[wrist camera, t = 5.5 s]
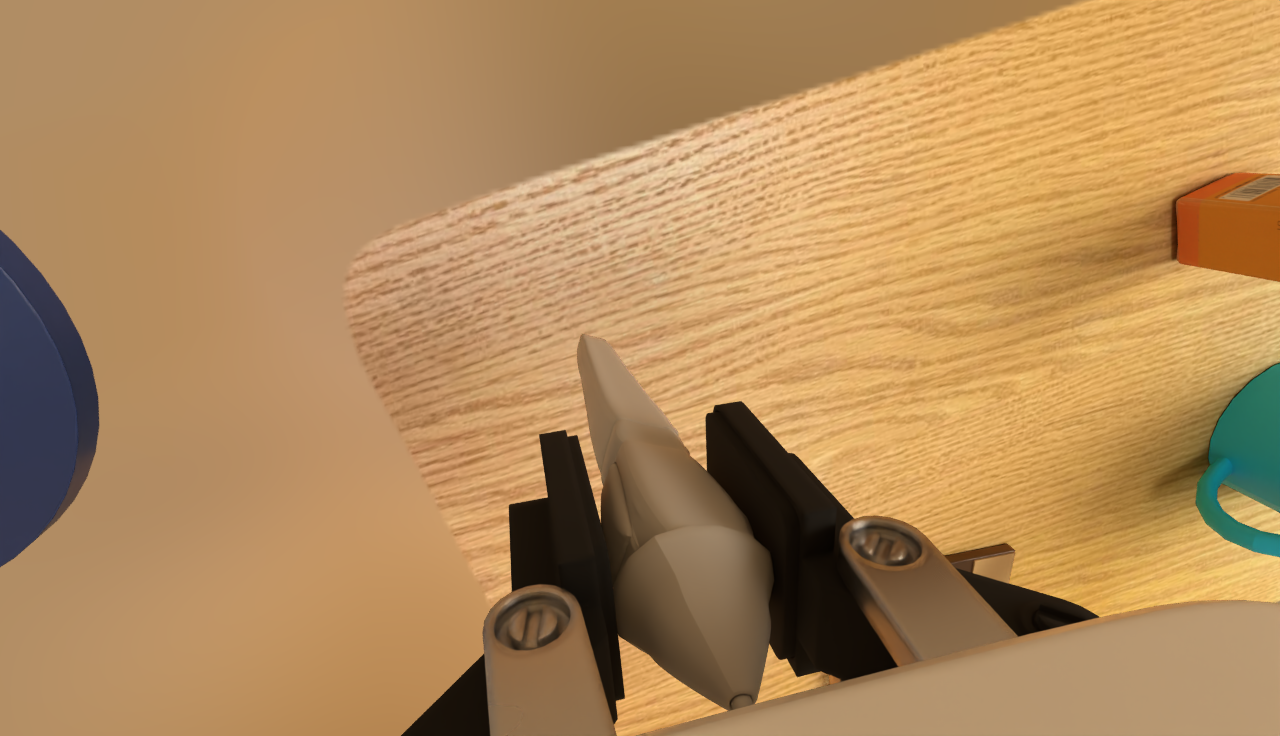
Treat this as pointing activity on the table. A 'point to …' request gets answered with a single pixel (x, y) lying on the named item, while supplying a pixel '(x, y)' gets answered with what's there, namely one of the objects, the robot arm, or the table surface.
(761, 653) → the beige tapered rod
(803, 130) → the table surface
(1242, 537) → the mug
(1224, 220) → the supplement box
